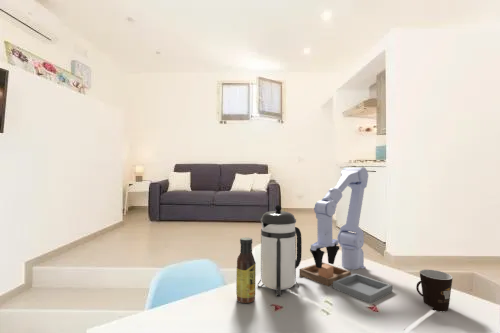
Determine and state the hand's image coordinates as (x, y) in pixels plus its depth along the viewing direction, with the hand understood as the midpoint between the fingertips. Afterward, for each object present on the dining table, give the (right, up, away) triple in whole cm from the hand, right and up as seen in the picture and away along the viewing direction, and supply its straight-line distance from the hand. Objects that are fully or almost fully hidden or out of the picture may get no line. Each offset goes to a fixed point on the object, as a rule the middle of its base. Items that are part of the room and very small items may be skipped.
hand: (325, 265), depth 110 cm
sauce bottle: (-31, -5, -19) cm, 37 cm away
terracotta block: (0, -4, -1) cm, 4 cm away
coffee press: (-19, -5, -8) cm, 21 cm away
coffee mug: (+27, -5, -23) cm, 36 cm away
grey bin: (+9, -5, -13) cm, 17 cm away
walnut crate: (0, -5, 0) cm, 5 cm away
